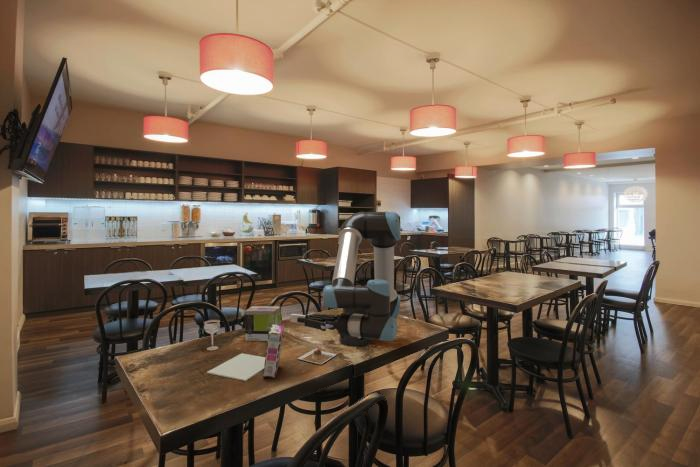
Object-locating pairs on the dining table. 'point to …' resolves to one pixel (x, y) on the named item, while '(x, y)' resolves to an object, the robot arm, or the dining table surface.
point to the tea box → (261, 322)
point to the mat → (240, 367)
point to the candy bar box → (273, 351)
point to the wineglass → (212, 330)
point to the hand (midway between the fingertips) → (291, 317)
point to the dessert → (316, 355)
